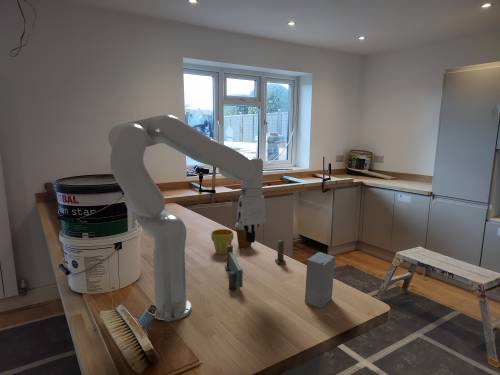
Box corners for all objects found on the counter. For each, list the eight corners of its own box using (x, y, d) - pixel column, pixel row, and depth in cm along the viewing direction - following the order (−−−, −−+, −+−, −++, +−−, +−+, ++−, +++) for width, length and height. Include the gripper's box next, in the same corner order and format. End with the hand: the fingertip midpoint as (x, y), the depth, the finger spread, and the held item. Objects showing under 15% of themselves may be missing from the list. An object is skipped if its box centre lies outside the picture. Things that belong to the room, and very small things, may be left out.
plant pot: (219, 257, 147) (219, 237, 146) (207, 251, 155) (207, 231, 153) (237, 252, 154) (237, 232, 152) (225, 246, 162) (225, 227, 160)
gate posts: (229, 290, 117) (229, 264, 115) (219, 268, 136) (218, 245, 134) (302, 280, 125) (303, 255, 123) (282, 260, 144) (283, 239, 142)
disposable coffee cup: (256, 244, 165) (256, 221, 163) (251, 250, 156) (251, 226, 154) (238, 242, 167) (238, 220, 165) (232, 249, 158) (232, 225, 156)
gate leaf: (228, 267, 133) (228, 252, 132) (232, 267, 133) (232, 251, 132) (238, 287, 116) (238, 270, 114) (242, 287, 116) (242, 269, 115)
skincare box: (315, 293, 115) (317, 250, 112) (334, 299, 110) (336, 255, 108) (303, 303, 108) (304, 258, 106) (322, 310, 104) (324, 263, 101)
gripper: (240, 195, 109) (239, 248, 111) (274, 192, 117) (272, 241, 120) (228, 192, 114) (227, 242, 117) (261, 189, 123) (259, 235, 126)
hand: (250, 241), depth 119 cm, fingers closed
